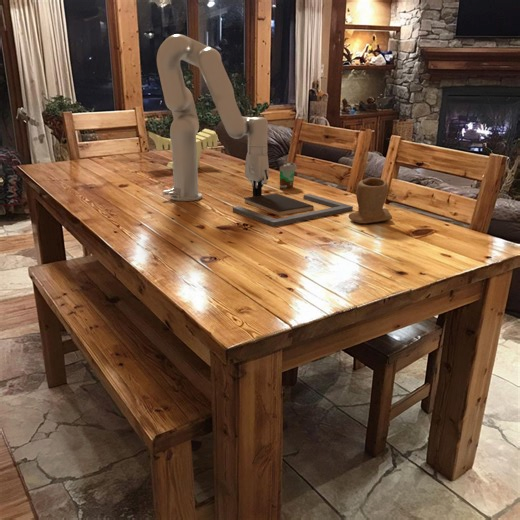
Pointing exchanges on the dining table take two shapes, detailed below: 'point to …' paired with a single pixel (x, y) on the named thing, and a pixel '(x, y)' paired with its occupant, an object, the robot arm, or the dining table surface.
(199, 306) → the dining table surface
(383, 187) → the stone cup
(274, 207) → the hardcover book
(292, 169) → the food container
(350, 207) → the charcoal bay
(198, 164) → the slatted curved stool
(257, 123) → the robot arm
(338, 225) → the dining table surface
